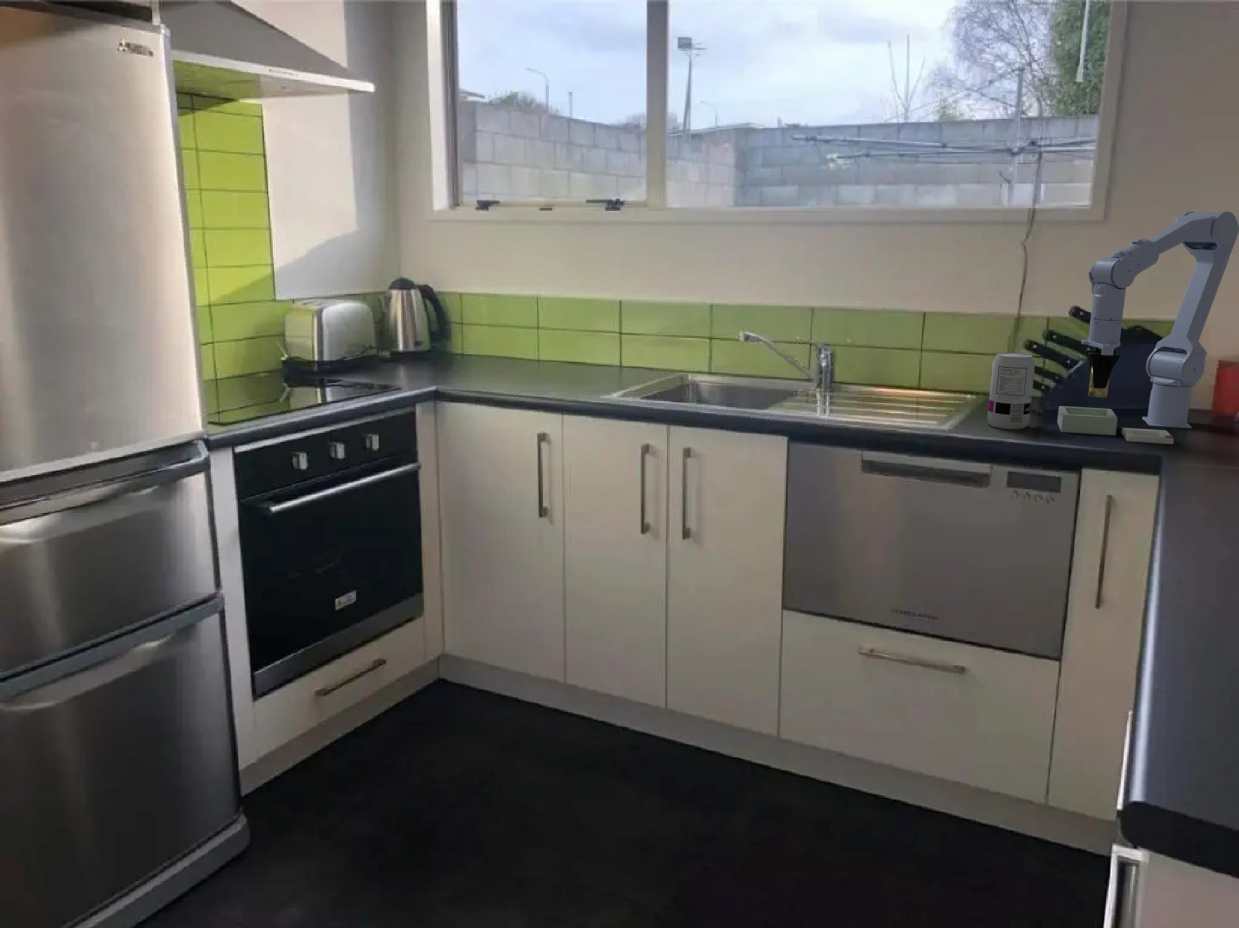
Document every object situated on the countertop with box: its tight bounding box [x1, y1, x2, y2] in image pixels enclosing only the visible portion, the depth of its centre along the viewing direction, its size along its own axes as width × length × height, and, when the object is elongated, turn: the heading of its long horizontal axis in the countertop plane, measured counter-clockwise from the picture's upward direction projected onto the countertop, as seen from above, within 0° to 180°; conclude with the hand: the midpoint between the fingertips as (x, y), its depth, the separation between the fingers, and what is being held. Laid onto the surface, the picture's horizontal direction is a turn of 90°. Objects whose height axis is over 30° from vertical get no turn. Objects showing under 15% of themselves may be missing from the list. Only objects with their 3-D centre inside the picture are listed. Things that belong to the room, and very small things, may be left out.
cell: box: [1087, 367, 1110, 398], centre depth 204 cm, size 4×4×6 cm
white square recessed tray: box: [1121, 427, 1175, 445], centre depth 199 cm, size 8×8×2 cm
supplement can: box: [986, 352, 1036, 430], centre depth 210 cm, size 8×8×15 cm
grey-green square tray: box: [1056, 405, 1118, 436], centre depth 207 cm, size 10×10×4 cm
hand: (1098, 386), depth 204 cm, fingers closed on cell, 3 cm apart
